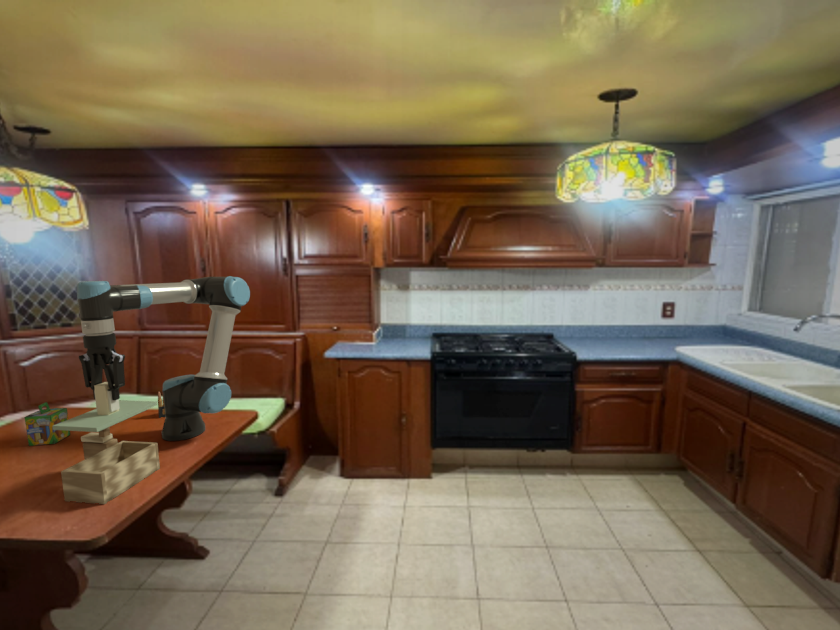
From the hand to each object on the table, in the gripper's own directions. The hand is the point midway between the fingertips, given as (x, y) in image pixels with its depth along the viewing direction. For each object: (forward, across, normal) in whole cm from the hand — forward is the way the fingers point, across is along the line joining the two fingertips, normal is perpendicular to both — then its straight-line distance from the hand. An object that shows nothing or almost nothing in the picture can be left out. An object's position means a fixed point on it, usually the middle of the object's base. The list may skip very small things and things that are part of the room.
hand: (108, 409), depth 120 cm
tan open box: (+24, -5, 0) cm, 24 cm away
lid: (+3, 0, 0) cm, 3 cm away
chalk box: (+24, -54, +25) cm, 64 cm away
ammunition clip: (+24, -26, +55) cm, 65 cm away
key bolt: (+13, -13, +7) cm, 20 cm away
